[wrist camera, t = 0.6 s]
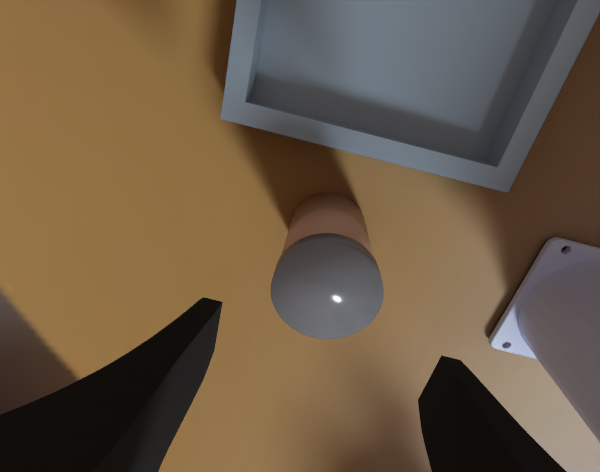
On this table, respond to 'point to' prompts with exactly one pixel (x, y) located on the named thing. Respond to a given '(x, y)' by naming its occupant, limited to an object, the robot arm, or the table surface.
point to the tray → (407, 77)
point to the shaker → (327, 270)
